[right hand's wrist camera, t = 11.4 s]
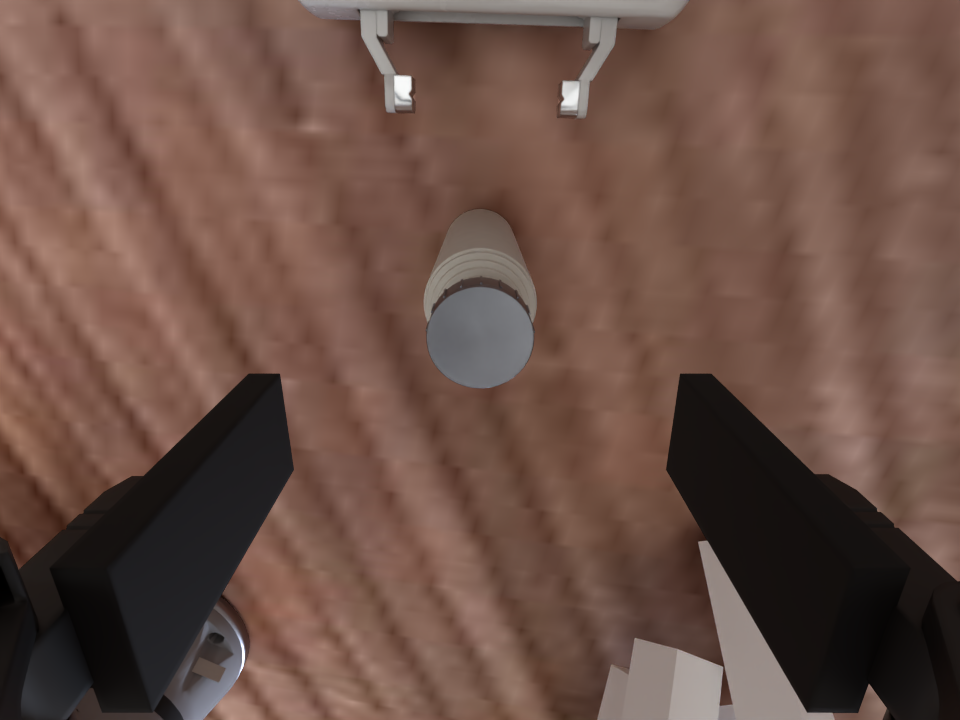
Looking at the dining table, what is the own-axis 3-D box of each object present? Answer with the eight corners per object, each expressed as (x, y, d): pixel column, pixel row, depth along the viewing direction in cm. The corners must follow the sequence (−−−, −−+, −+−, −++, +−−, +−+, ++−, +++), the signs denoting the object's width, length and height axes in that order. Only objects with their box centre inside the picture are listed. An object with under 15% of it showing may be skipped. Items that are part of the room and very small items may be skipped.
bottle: (506, 285, 40) (530, 407, 21) (439, 271, 39) (402, 384, 21) (522, 217, 38) (563, 283, 19) (452, 202, 38) (424, 255, 19)
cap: (518, 382, 22) (521, 398, 20) (420, 363, 22) (416, 379, 20) (542, 287, 20) (547, 298, 19) (438, 266, 20) (435, 275, 19)
